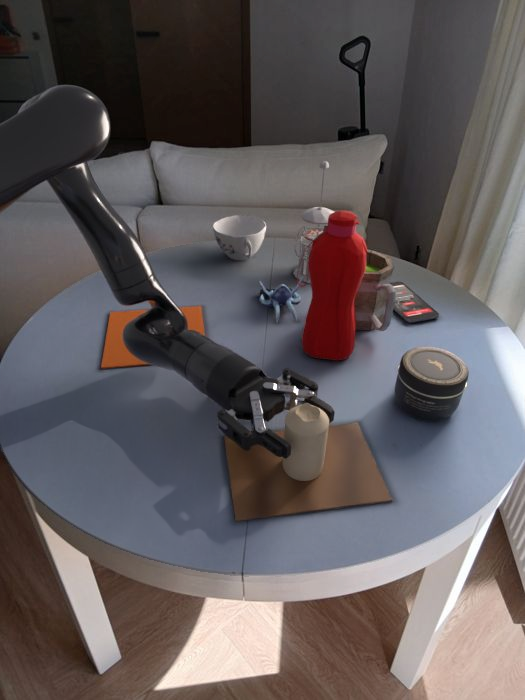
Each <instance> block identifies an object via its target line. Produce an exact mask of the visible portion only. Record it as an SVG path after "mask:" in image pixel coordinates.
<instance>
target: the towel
mask: <svg viewBox="0 0 525 700" xmlns="http://www.w3.org/2000/svg"><path fill="white" fill-rule="evenodd" d="M178 307H179V306H178ZM179 308H180V309H181V311H182V312H183V313H184V315H185V317H186V319H187V323H188V330H194V331H197V332H199V333H201V334H202V335H204V336H206V335H205V326H204V316H203V307H202V305H196V306H195V305H194V306H182V307H181V306H180V307H179ZM148 310H149V309H136V310H121V311H110V312H109V316H108V324H107V329H106V335H105V342H104V347H103V354H102V359H101V365H100V369H104V370H105V369H113V368H114V369H115V368H126V367H139V366H151V364H148V363H145V362H143V361H141V360H139V359H137V358H136V357H135V356H133V355H132V354H131V353H130V352H129V351H128V350H127V348H126V347H125V345H124V342H123V337H122V334H123V330H124V327H125V326H126V325H127V324H128V323H129V322H130V321H131V320H133V319H135V318H136V317H138V316H140V315H141V314H143V313H145V312H146V311H148Z"/></svg>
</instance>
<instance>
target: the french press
mask: <svg viewBox="0 0 525 700" xmlns="http://www.w3.org/2000/svg"><path fill="white" fill-rule="evenodd" d="M319 168H320V169H323V170H322V181H321V190H320V203H319V206H315V207H309V208H308V209H306V210H304V211H302V212H301V214H300V218H301V219H302V220H303V221H304V222H306V223H309V224H312V225H317V226H318V227H315V226H314V227H308V228H306V225H303V226H302V227H300V229H299V230H298V232H297V234H296V237H295V241H294V253H295V256H296V257H297V258H298V266H297V267H296V268H294V270H293V275H294V277H295V278H296V279H297V274H298V281H300V279H301V278H302V277H303V279H302V282H304V283H306V282H307V284H311V280H310V273H309V275H308V261H309V253H310V251H311V250H310V249H312V247H311V246H312V244H311V245H309V244H310V243H311V242H312V241H313V240H314V238H315V237H317V236H318V235H319V234H320V233H322V232H323V230H324V227H320V225H328V218H329V215H330V214H331V213H334V212H335V211H334V210H332V209H329V208H327V207H324V206H322V199H323V189H324V178H325V169H329V168H330V164H329V162H328V161H327V160H323V161H321V162H320V163H319ZM300 232H301V237H300V239H299V251H298V252H299V253H297V241H298V237H299V235H300ZM304 241H306V242H307V243H306V242H304ZM312 243H313V242H312ZM308 245H309V246H308ZM307 246H308V247H307ZM306 247H307V249H306ZM305 249H306V251H305ZM304 251H305V253H304ZM303 254H304V255H303ZM302 256H303V258H302ZM301 259H302V261H301ZM300 262H301V264H300ZM299 265H300V267H299ZM298 269H299V271H298ZM307 279H308V281H307Z"/></svg>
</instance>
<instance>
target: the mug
mask: <svg viewBox="0 0 525 700" xmlns="http://www.w3.org/2000/svg"><path fill="white" fill-rule="evenodd" d="M394 269H395V266H394V263H393V262H392V259H391V257H390V256H388V255H385V254H383V253H380V252H378V251H375V250H372V249H367V255H366V271H365V273H364V276H363V278H362V280H361V283H360V286H359V289H358V292H357V295H356V298H355V301H354V306H355V317H356V328H355V331H372V330H373V329H375V330H376V331H380V332H385V331H387V329H388V328H389V327H390V326H391V325H390V324H391V321H392V318H393V311H394V305H395V302H396V291H395V289H394V287H393V286H392V285H390V283H391V278H392V275H393V272H394ZM387 299H388V303H387Z"/></svg>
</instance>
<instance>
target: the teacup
mask: <svg viewBox="0 0 525 700" xmlns="http://www.w3.org/2000/svg"><path fill="white" fill-rule="evenodd" d="M212 230H213V234H214V238H215V241H216V244H217V246H219V248H220V250H221V251H222V252H223V253H224V254H225V255H227V257H228V258H230V259H232V260H234V261H245V260H249V259H250V258H252V257H253V256H254V255H255V254H256V253H257V252H258V251H259V250H260V248H261V247H262V244H263V242H264V240H265V236H266V233H267V232H266V231H267V223H266V222H265V221H264V220H263V219H262V218H259V217H255V216H251V215H244V214H242V215H241V214H239V215H231V216H226V217H222V218H221V219H219V220H217V221H215V222H214V223H213V224H212Z"/></svg>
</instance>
